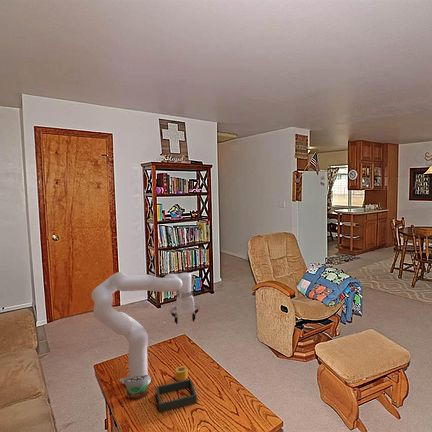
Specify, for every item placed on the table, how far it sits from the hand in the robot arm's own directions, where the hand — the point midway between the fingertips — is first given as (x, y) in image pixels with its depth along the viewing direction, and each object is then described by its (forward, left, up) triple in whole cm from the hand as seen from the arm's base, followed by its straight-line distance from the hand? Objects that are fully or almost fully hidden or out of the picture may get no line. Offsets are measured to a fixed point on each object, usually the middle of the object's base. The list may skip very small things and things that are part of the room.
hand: (185, 322), depth 202 cm
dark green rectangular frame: (-9, -28, -28) cm, 41 cm away
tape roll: (-4, -10, -28) cm, 30 cm away
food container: (-27, -19, -28) cm, 44 cm away
